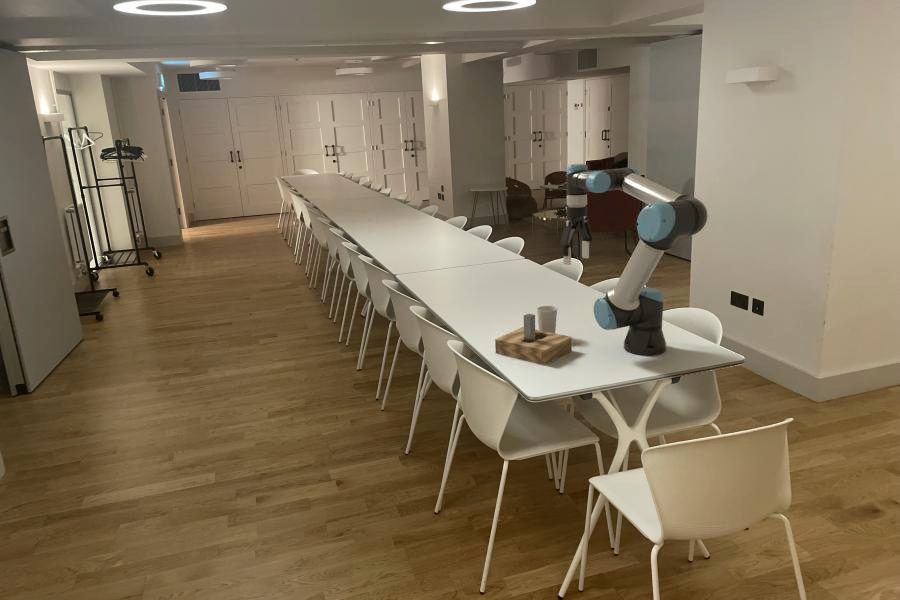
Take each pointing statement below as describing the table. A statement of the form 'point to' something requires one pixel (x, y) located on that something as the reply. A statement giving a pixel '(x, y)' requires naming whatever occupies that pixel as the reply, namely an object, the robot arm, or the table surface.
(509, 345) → the keyhole box
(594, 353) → the table surface
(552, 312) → the cup
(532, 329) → the stud
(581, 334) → the table surface
